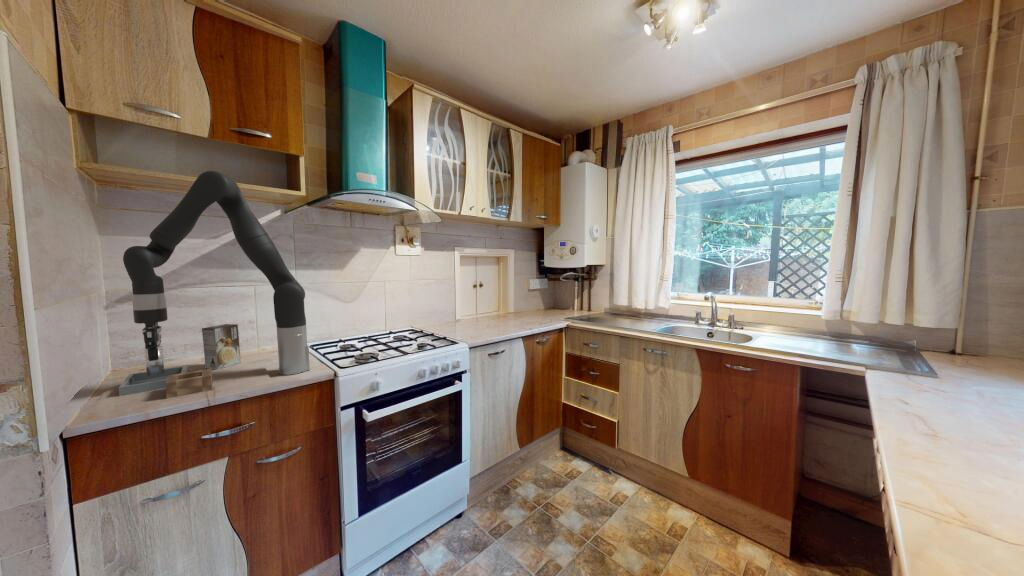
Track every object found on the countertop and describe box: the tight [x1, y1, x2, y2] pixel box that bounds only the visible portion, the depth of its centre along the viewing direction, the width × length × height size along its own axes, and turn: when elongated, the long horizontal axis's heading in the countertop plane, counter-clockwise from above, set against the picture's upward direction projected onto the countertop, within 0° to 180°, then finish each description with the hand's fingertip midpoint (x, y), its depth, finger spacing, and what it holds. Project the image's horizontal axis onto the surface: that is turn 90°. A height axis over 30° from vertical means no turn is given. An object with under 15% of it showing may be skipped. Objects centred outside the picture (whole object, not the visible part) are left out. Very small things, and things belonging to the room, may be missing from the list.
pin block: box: [165, 368, 214, 399], centre depth 106 cm, size 10×10×6 cm
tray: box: [118, 365, 189, 397], centre depth 112 cm, size 14×17×4 cm
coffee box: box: [201, 323, 242, 370], centre depth 133 cm, size 9×6×16 cm
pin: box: [144, 345, 165, 376], centre depth 112 cm, size 4×4×9 cm
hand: (154, 358), depth 112 cm, fingers closed on pin, 4 cm apart
